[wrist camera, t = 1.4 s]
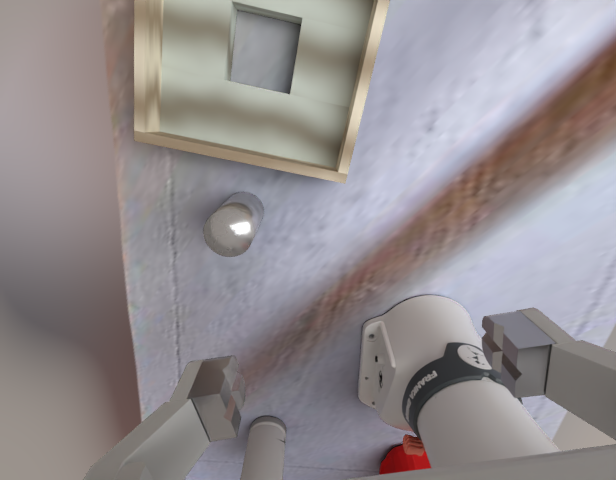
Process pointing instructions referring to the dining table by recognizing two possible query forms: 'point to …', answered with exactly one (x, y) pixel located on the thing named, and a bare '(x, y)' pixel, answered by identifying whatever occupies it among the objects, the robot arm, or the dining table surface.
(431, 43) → the dining table surface
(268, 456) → the travel mug
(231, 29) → the socket box
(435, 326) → the robot arm
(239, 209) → the peg
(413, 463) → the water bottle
